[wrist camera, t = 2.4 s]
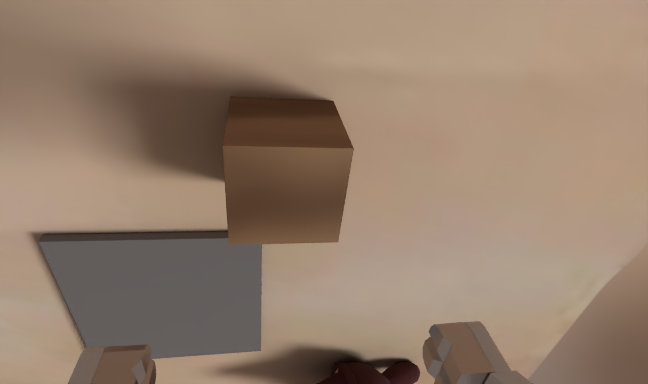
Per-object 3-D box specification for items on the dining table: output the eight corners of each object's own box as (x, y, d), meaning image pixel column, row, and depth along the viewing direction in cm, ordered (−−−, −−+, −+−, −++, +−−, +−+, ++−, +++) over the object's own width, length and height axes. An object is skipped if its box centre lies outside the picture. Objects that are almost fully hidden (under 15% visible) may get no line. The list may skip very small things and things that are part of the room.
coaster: (43, 234, 20) (38, 241, 20) (261, 231, 22) (261, 237, 22) (97, 355, 27) (94, 363, 27) (260, 343, 29) (260, 350, 29)
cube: (230, 96, 17) (222, 145, 13) (333, 100, 18) (353, 148, 14) (234, 182, 20) (228, 244, 16) (323, 182, 21) (337, 242, 17)
